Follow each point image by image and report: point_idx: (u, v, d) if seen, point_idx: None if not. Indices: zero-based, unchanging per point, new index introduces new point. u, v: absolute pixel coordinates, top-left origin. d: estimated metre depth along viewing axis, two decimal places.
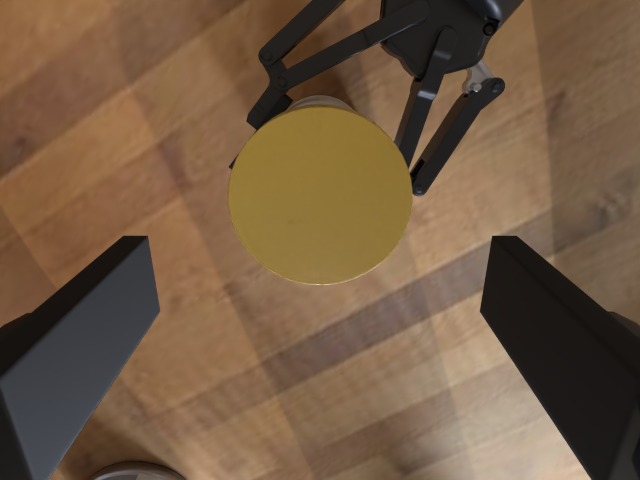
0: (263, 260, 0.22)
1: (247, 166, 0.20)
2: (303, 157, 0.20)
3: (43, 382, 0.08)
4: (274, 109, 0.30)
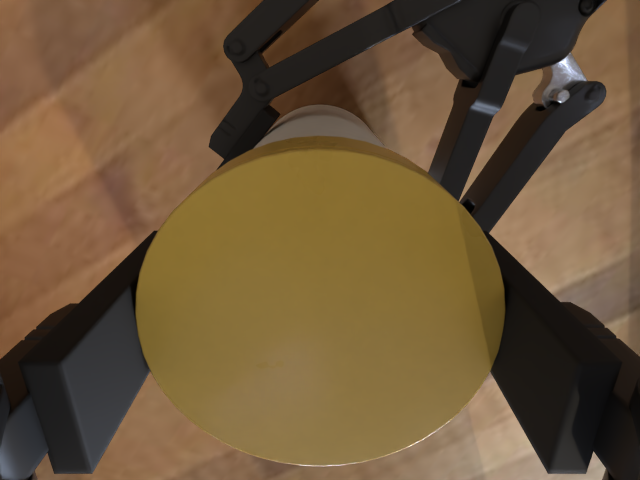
0: (213, 428, 0.12)
1: (170, 267, 0.10)
2: (285, 250, 0.10)
3: (95, 367, 0.08)
4: (250, 129, 0.19)
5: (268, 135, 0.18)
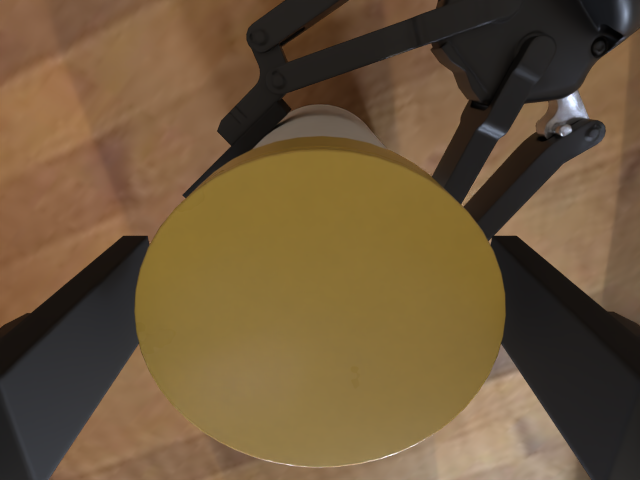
0: (430, 428, 0.12)
1: (251, 438, 0.12)
2: (230, 359, 0.11)
3: (43, 382, 0.08)
4: (261, 120, 0.19)
5: (279, 128, 0.19)
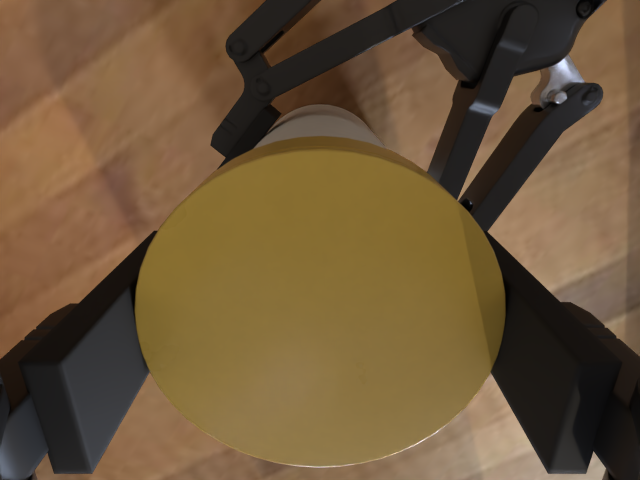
0: (445, 416, 0.11)
1: (268, 444, 0.12)
2: (235, 368, 0.11)
3: (95, 367, 0.08)
4: (251, 128, 0.19)
5: (269, 134, 0.19)
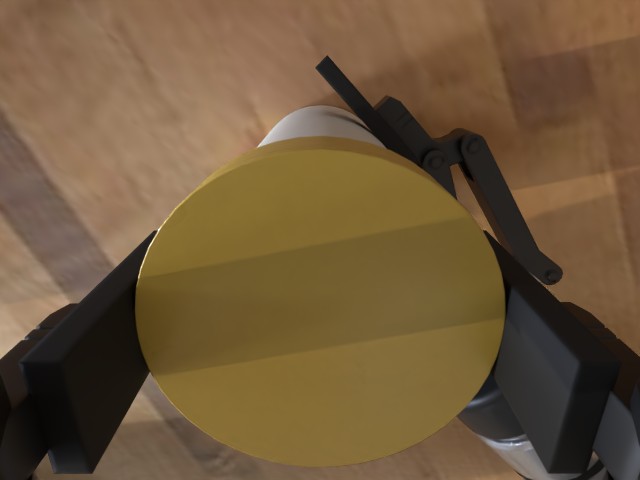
0: (445, 416, 0.11)
1: (268, 444, 0.12)
2: (235, 368, 0.11)
3: (95, 367, 0.08)
4: (402, 146, 0.20)
5: None
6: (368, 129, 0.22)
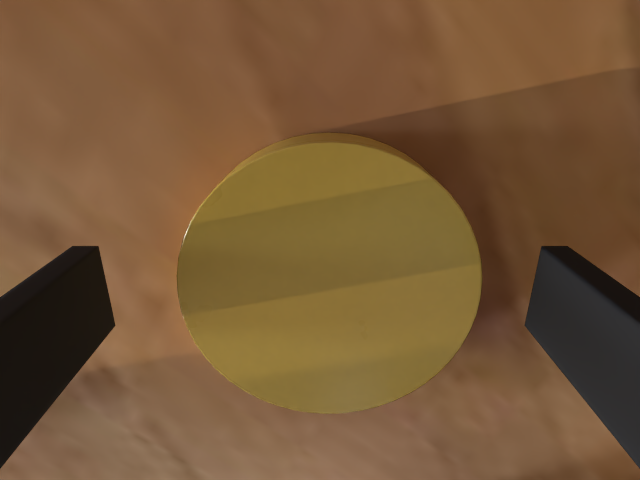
0: (433, 368, 0.14)
1: (284, 392, 0.14)
2: (258, 325, 0.13)
3: None
4: None
5: None
6: None
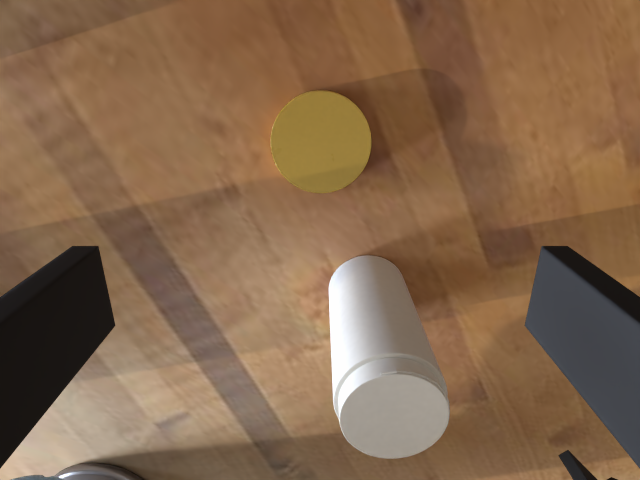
0: (357, 172, 0.39)
1: (305, 183, 0.39)
2: (297, 155, 0.38)
3: None
4: None
5: (419, 319, 0.37)
6: (400, 287, 0.39)
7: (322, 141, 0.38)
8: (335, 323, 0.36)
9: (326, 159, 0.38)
